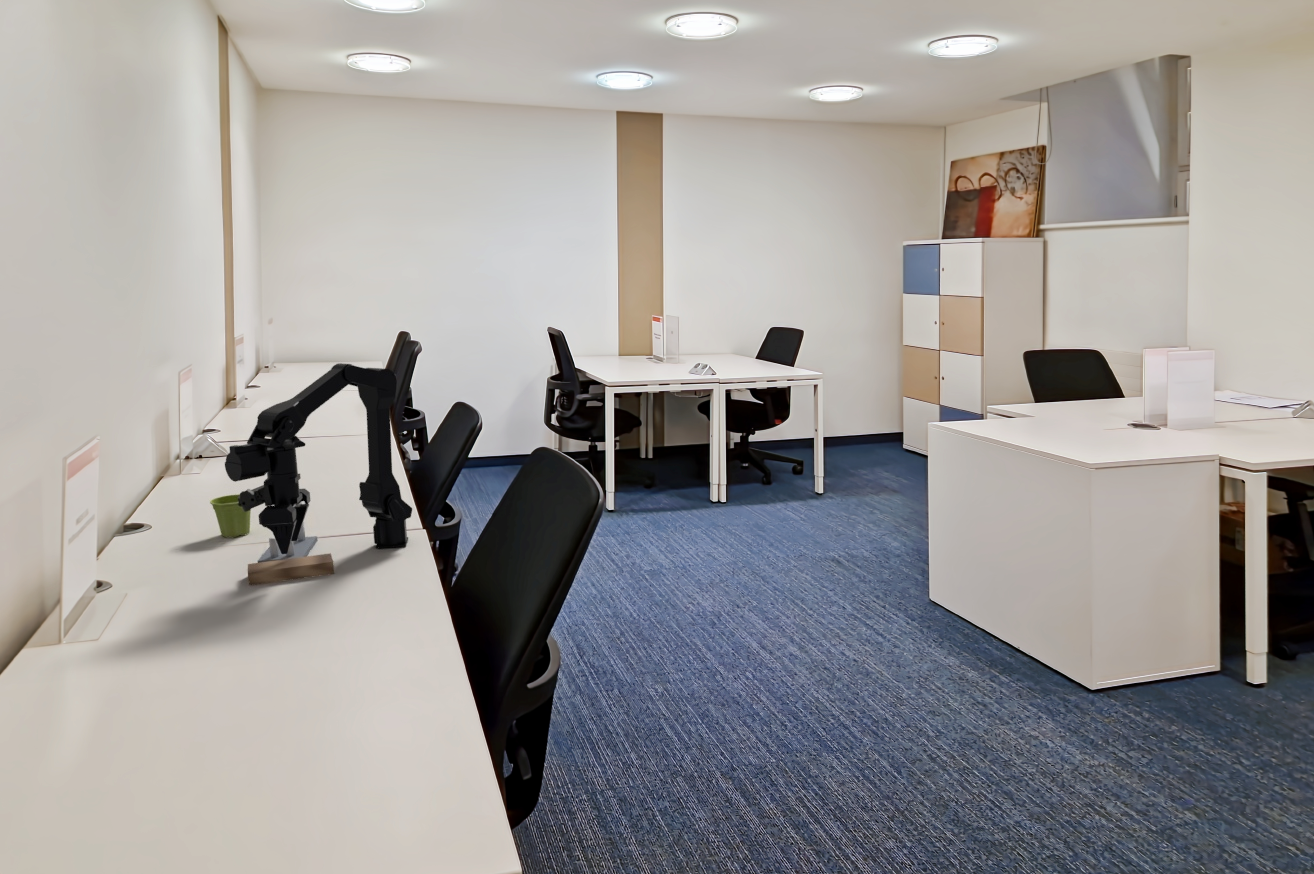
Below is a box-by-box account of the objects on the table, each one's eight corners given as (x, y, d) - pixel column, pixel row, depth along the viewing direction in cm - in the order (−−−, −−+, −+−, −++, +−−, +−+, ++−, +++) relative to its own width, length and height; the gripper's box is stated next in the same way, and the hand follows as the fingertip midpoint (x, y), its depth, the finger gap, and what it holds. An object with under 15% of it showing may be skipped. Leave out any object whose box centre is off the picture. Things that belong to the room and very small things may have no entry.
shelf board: (331, 567, 199) (330, 553, 198) (334, 575, 193) (333, 561, 192) (249, 578, 193) (247, 564, 192) (249, 587, 187) (247, 572, 186)
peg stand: (276, 543, 216) (274, 521, 215) (317, 540, 217) (315, 519, 217) (258, 565, 200) (255, 542, 199) (302, 562, 201) (300, 539, 200)
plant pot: (246, 539, 220) (242, 503, 218) (206, 540, 220) (202, 504, 218) (263, 528, 229) (260, 493, 227) (225, 529, 229) (221, 494, 228)
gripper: (251, 465, 197) (259, 537, 199) (226, 484, 179) (235, 563, 181) (307, 461, 199) (314, 533, 201) (288, 480, 180) (295, 559, 183)
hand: (289, 547), depth 192 cm, fingers open, 9 cm apart
